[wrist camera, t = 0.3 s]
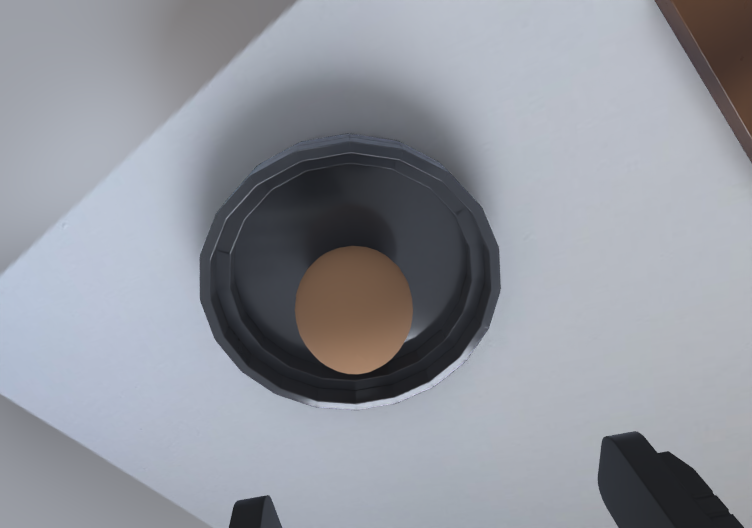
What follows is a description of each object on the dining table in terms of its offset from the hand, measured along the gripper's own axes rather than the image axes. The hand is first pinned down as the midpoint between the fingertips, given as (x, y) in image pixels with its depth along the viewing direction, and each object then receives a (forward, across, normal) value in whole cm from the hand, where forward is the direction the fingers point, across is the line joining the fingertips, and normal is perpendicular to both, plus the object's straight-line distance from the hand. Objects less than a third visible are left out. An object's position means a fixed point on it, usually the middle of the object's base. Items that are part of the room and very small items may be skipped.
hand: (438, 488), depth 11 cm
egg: (+18, +2, +3) cm, 19 cm away
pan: (+18, +2, +3) cm, 19 cm away
